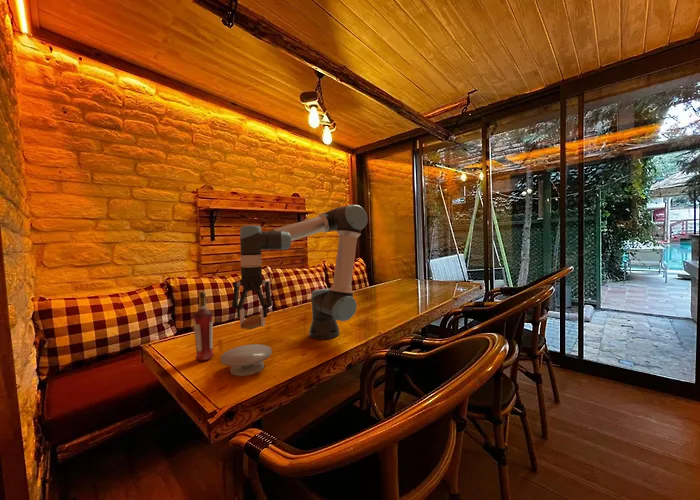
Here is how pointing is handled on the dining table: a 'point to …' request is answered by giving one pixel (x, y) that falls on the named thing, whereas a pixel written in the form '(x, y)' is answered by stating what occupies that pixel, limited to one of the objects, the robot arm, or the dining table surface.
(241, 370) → the cake stand
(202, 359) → the ketchup bottle
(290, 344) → the dining table surface
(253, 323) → the pastry
